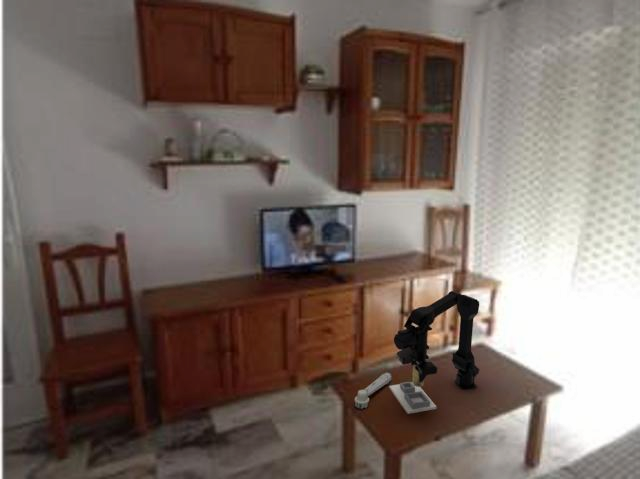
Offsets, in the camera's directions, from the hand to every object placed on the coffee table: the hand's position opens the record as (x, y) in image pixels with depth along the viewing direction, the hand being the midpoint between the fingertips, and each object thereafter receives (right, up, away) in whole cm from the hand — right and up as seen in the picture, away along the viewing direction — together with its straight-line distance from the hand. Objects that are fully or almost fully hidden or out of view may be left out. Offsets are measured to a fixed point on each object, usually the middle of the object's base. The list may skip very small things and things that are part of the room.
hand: (418, 379), depth 171 cm
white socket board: (-1, -10, +7) cm, 12 cm away
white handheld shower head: (-16, -10, +11) cm, 21 cm away
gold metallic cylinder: (0, -2, +1) cm, 2 cm away
